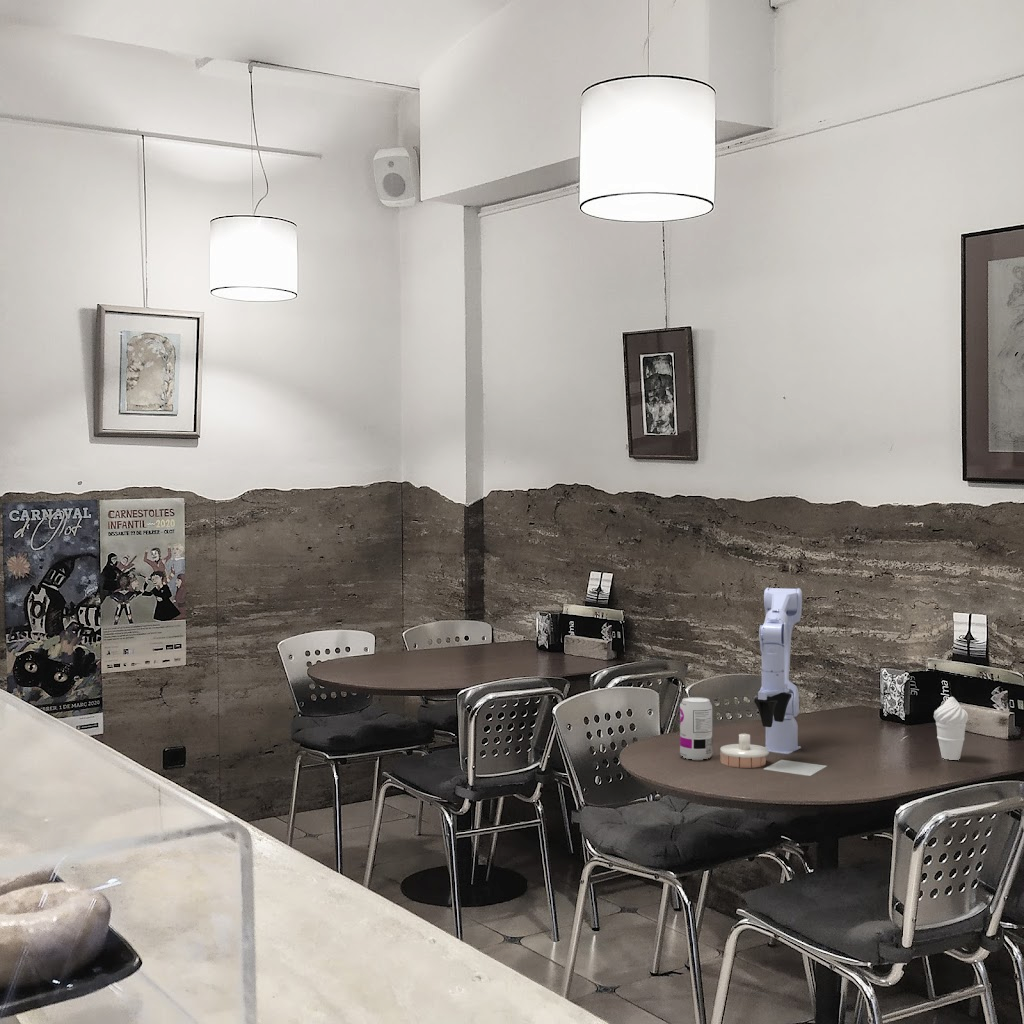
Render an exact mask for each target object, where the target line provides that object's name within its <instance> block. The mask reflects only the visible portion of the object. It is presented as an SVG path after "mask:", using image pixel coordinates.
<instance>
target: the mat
mask: <svg viewBox="0 0 1024 1024" xmlns="http://www.w3.org/2000/svg"><path fill="white" fill-rule="evenodd" d="M827 767H828V765H823V764H817V763H810V762H802V761H793V760H787V759H786V760H785V759H780V760H778V761H776V762H774V763H772V764H770V765H768V766H766V767H764V768H763V770H765V771H772V772H778V773H786V774H793V775H799V776H808V777H811V776H813V775H814V774H816V773H818V772H820V771H821V770H823V769H825V768H827Z"/></svg>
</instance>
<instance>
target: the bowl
mask: <svg viewBox="0 0 1024 1024" xmlns="http://www.w3.org/2000/svg"><path fill="white" fill-rule="evenodd" d="M719 755H720V756H719V758H720V763H721V764H722V765H724V766H727V767H732V768H740V769H741V768H743V769H744V768H746V769H747V768H748V769H749V768H750V769H752V768H761V767H763V766H765V765H766V764H767V755H766V756H763V757H755V758H742V757H733V756H728V755H725V754H722V753H721V752H720V754H719Z"/></svg>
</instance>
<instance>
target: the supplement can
mask: <svg viewBox="0 0 1024 1024" xmlns="http://www.w3.org/2000/svg"><path fill="white" fill-rule="evenodd" d="M679 755H680V756H681V757H682V756H683V757H682V758H683V759H685V758H686V759H685V760H688V759H692V760H691V761H704V760H703V759H707V760H709V759H710V758H711V757H712V756H713V705H712V702H711V701H710V699H709V698H706V697H699V696H698V697H695V696H694V697H693V696H692V697H690V696H689V697H684V698H682V701H681V702H680V704H679ZM708 758H709V759H708Z"/></svg>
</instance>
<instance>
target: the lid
mask: <svg viewBox="0 0 1024 1024" xmlns="http://www.w3.org/2000/svg"><path fill="white" fill-rule="evenodd" d="M719 750H720V752H721V753H722V754H725V755H728V756H733V757H742V758H755V757H763V756H766V757H767V756H768V755H769V754H770V752H769V749H768V748H766V746H763V745H758V744H752V743H751V734H749V733H739V734H738V743H731V744H725V745H722V746H721V747H720V749H719Z"/></svg>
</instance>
